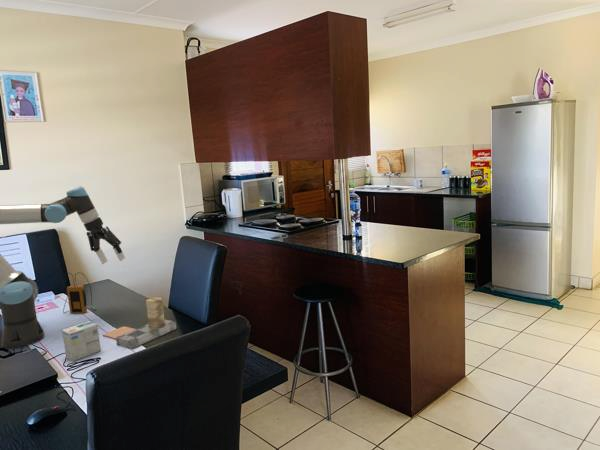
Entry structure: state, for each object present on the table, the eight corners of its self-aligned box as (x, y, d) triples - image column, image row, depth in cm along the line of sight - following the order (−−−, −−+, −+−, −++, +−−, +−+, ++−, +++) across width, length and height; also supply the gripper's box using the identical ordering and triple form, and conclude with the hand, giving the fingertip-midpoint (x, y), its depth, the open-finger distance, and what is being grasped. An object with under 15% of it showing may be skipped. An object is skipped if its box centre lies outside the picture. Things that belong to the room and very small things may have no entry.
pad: (118, 340, 180) (117, 338, 180) (102, 336, 186) (102, 334, 186) (139, 331, 189) (138, 330, 189) (123, 327, 194) (123, 326, 194)
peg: (156, 335, 184) (153, 301, 182) (149, 333, 186) (145, 300, 184) (165, 331, 187) (162, 298, 185) (158, 329, 190) (154, 297, 188)
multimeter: (102, 306, 225) (97, 267, 222) (91, 313, 215) (86, 272, 212) (74, 306, 227) (69, 267, 223) (62, 314, 217) (56, 273, 214)
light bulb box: (93, 346, 176) (89, 320, 174) (101, 350, 171) (98, 323, 170) (64, 357, 168) (60, 329, 166) (73, 361, 163) (69, 333, 162)
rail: (131, 349, 171) (130, 341, 171) (116, 344, 176) (115, 337, 176) (176, 328, 189) (175, 321, 189) (161, 325, 194) (161, 318, 194)
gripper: (114, 211, 199) (136, 254, 206) (82, 220, 213) (104, 260, 219) (100, 219, 194) (124, 262, 200) (69, 227, 207) (91, 267, 213)
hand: (113, 261), depth 210 cm, fingers open, 13 cm apart
